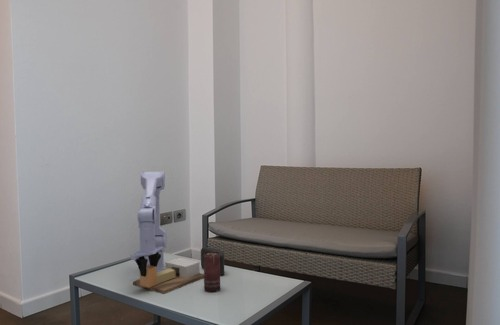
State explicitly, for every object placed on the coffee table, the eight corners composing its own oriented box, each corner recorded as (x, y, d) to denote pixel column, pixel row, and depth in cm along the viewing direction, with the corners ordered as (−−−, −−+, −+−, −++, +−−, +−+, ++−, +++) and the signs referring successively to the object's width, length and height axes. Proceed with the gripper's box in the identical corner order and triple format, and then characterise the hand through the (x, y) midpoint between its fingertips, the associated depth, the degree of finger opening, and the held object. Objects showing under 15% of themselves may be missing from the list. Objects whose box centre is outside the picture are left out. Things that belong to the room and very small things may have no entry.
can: (208, 293, 151) (207, 256, 150) (201, 288, 156) (201, 252, 156) (223, 290, 153) (222, 254, 153) (216, 285, 159) (216, 250, 158)
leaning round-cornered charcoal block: (230, 274, 173) (229, 252, 173) (221, 276, 170) (221, 254, 170) (208, 266, 186) (208, 245, 185) (200, 268, 183) (199, 247, 182)
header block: (165, 273, 171) (165, 262, 171) (179, 268, 178) (179, 257, 178) (186, 278, 164) (185, 266, 164) (199, 273, 171) (199, 262, 171)
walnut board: (132, 284, 161) (132, 281, 161) (175, 269, 180) (175, 267, 180) (163, 293, 151) (163, 290, 151) (205, 277, 170) (205, 274, 169)
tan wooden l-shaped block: (140, 285, 156) (139, 267, 156) (167, 275, 168) (167, 258, 167) (148, 287, 153) (148, 269, 153) (176, 277, 165) (176, 260, 165)
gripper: (138, 244, 147) (139, 281, 148) (168, 237, 159) (169, 271, 160) (126, 242, 152) (127, 278, 152) (156, 234, 163) (157, 268, 164)
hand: (148, 274), depth 156 cm, fingers closed on tan wooden l-shaped block, 4 cm apart
